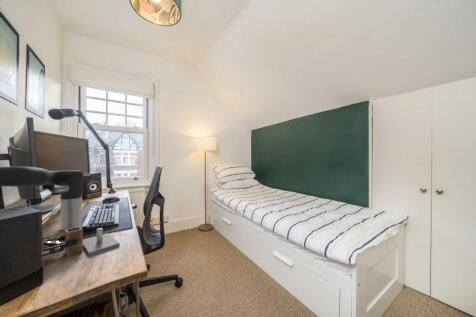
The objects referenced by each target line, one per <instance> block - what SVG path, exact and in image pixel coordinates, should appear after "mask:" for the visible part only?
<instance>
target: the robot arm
mask: <svg viewBox="0 0 476 317" xmlns="http://www.w3.org/2000/svg"><path fill="white" fill-rule="evenodd" d="M45 185H51V186H60V187H68V190H67V191H65V192H62V193H60V196H59V197H60V198H59V199H60V202H59V203H60V214H59V215H60V218H59V219H60V222H59V223H60V231H65V230H66V229H70V228H75V227H79V226H80V227H81V228H82V226H83V193H84V186H85V176H84V173H83V171H81V170H78V169H77V170H76V169H74V170H73V169H72V170H69V169H68V170H67V169H66V170H65V169H64V170H48V169H46V168H43V167H42V168H41V167H36V166H26V165H25V166H22V165H20V166H19V165H17V166H0V187H15V188H18V187H19V188H21V187H22V188H28V187H29V188H31V187H32V188H33V187H41V186H45ZM42 238H43V256H42V257H45V256H46V257H47V256H50V255H52V254H53V255H54V254H58V253H60V252H65V248H66V247H70V246H73V245H77V244H78V239H73V240H69V241H66V242H65V234H64V235H62V234H59V233H58V234H55V235H51V236H47V237H42Z"/></svg>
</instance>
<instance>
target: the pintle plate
mask: <svg viewBox="0 0 476 317" xmlns="http://www.w3.org/2000/svg"><path fill="white" fill-rule="evenodd" d="M103 231H104V228H103V227H100V228H96V235H95V236H92V237H88V238H83V250H84V251H85V253H86V254H87V255H88V257H91V256H94V255H95V256H96V255H98V254H100V253H104V252H106V251H110V250H112V249H116V248H119V247H120V246H121V245H120V242H119V241H118V240H116V238H115V237H113V236H112V235H111V234H110V233H109V232H107V233H104V234H103Z"/></svg>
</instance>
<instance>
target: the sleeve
mask: <svg viewBox="0 0 476 317" xmlns="http://www.w3.org/2000/svg"><path fill="white" fill-rule="evenodd" d="M64 235H65V241H64V242H66V241H69V240H73V239H78V244H77V245H73V246H70V247H66V248H65V249H64V254H65V256H66V258H69V257H72V256H76V255H78V254H82V253H83V252H84V251H83V250H84V248H83V240H84V229H83V228H82V226H81V227H80V226H79V227H75V228H70V229H66V230H64Z"/></svg>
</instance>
